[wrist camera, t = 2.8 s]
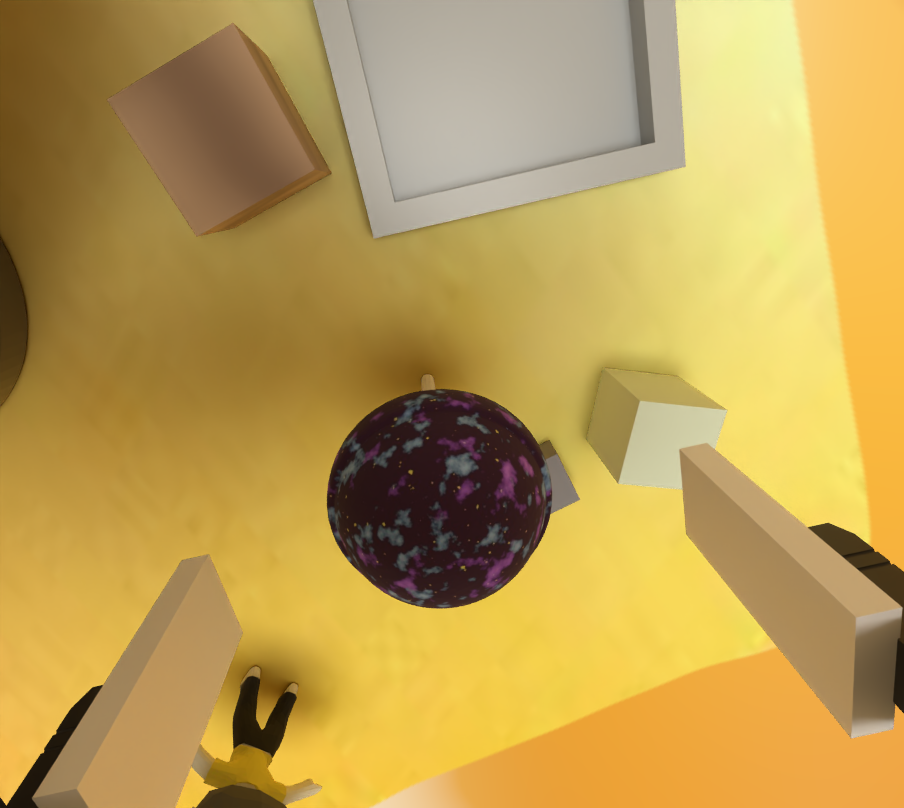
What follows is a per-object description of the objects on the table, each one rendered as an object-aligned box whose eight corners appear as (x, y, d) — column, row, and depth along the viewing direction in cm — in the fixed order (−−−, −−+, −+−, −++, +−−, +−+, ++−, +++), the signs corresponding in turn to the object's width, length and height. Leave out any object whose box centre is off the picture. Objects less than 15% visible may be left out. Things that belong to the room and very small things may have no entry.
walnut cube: (234, 227, 26) (196, 236, 21) (164, 117, 24) (106, 99, 19) (331, 173, 25) (314, 169, 21) (267, 55, 24) (233, 22, 19)
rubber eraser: (473, 528, 32) (477, 549, 31) (448, 487, 31) (451, 506, 30) (569, 481, 32) (579, 499, 30) (547, 437, 31) (557, 453, 29)
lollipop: (437, 466, 30) (463, 702, 16) (330, 391, 29) (257, 584, 15) (523, 369, 29) (633, 538, 15) (416, 282, 27) (426, 382, 13)
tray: (376, 234, 26) (373, 238, 24) (283, -131, 21) (271, -164, 19) (664, 168, 26) (685, 166, 24) (635, -215, 21) (659, -255, 19)
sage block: (585, 438, 31) (618, 483, 26) (602, 367, 29) (639, 400, 25) (657, 446, 31) (701, 491, 26) (677, 375, 30) (727, 410, 25)
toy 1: (189, 677, 34) (38, 1017, 20) (233, 614, 33) (104, 930, 19) (315, 731, 36) (258, 1070, 22) (360, 673, 35) (331, 996, 21)
